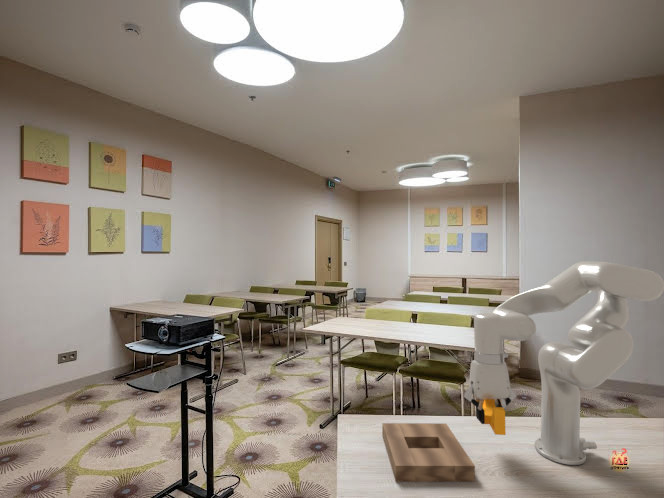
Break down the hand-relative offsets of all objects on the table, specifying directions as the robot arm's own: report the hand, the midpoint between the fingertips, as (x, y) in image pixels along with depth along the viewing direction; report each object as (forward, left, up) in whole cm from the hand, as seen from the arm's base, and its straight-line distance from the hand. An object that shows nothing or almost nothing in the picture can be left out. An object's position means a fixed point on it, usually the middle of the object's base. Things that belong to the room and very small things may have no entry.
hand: (490, 420), depth 103 cm
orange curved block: (0, 0, -1) cm, 1 cm away
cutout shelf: (+19, 0, -10) cm, 21 cm away
